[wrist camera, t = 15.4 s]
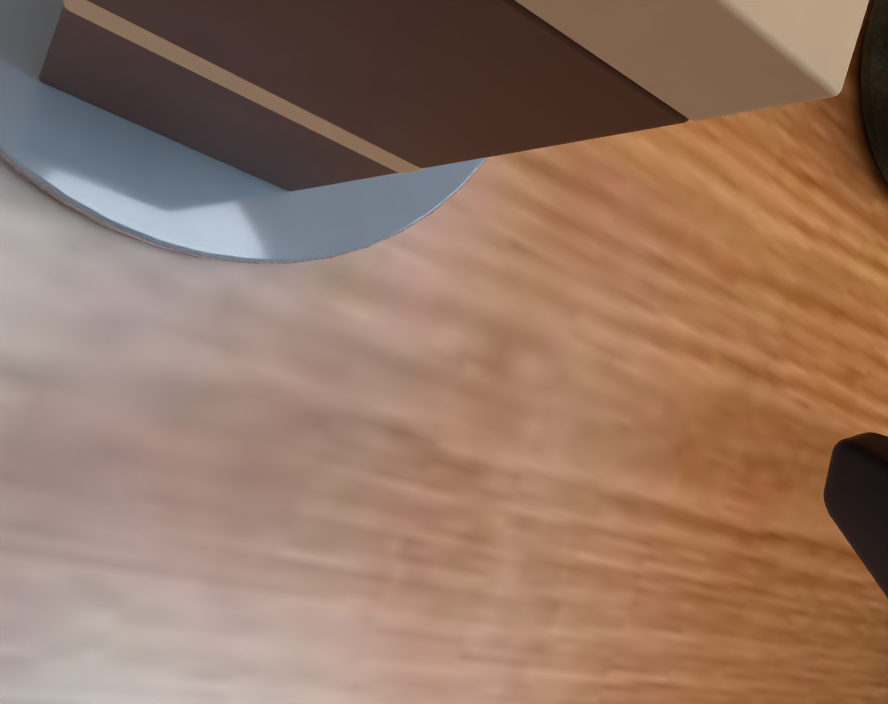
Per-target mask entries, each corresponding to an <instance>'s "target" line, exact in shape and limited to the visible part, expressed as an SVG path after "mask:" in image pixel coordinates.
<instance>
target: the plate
mask: <svg viewBox="0 0 888 704" xmlns="http://www.w3.org/2000/svg"><path fill="white" fill-rule="evenodd" d="M63 6H64V2H63V0H0V157H2V158H3V159H4V160H5V161H6V162H7V163H8V164H9V165H10V166H11V167H13V168H14V169H15V170H16V171H17V172H19V173H20V174H22V175H23V176H24V177H26V178H27V179H29V180H30V181H31V182H33V183H34V184H36V185H37V186H38V187H40V188H41V189H43V190H44V191H45V192H47V193H48V194H50V195H51V196H52V197H54V198H55V199H57V200H58V201H59V202H61V203H63V204H65V205H67V206H68V207H70V208H72V209H74V210H76V211H78V212H79V213H81V214H83V215H85V216H87V217H88V218H90V219H92V220H94V221H96V222H97V223H99V224H101V225H103V226H105V227H107V228H110V229H112V230H115V231H117V232H120V233H122V234H125V235H127V236H130V237H132V238H134V239H137V240H139V241H142V242H144V243H147V244H149V245H153V246H156V247H160V248H164V249H168V250H171V251H175V252H179V253H183V254H186V255H190V256H194V257H201V258H208V259H216V260H223V261H231V262H239V263H295V262H303V261H310V260H317V259H324V258H331V257H335V256H338V255H342V254H345V253H349V252H352V251H356V250H359V249H363V248H366V247H369V246H371V245H374V244H376V243H378V242H380V241H383V240H385V239H387V238H389V237H392V236H394V235H396V234H398V233H401V232H402V231H404V230H406V229H407V228H409V227H410V226H412V225H414V224H415V223H417V222H418V221H420V220H421V219H423V218H425V217H426V216H428V215H429V214H431V213H432V212H434V211H435V210H436V209H437V208H438V207H440V206H441V205H442V204H443V203H444V202H445V201H447V200H448V199H449V198H450V197H451V196H453V195H454V194H455V193H456V192H457V191H458V190H460V188H461V187H462V186H463V185H464V184H465V183H466V182H467V181H468V180H469V178H470V177H471V176H472V175H473V174H474V173H475V172H476V171H477V169H478V168H479V167H480V166H481V165H482V164H483V163H484V161H485V160H486V158H487V157H486V158H480V159H474V160H469V161H463V162H457V163H452V164H446V165H440V166H435V167H429V168H424V169H423V170H421V171H415V172H409V173H395V174H389V175H383V176H378V177H372V178H366V179H360V180H355V181H349V182H343V183H338V184H332V185H326V186H321V187H315V188H309V189H304V190H298V191H292V192H291V191H287V190H285V189H283V188H280V187H278V186H276V185H274V184H271V183H269V182H267V181H265V180H262V179H260V178H258V177H255V176H253V175H251V174H249V173H246V172H244V171H242V170H240V169H237V168H235V167H233V166H231V165H228V164H226V163H224V162H221V161H219V160H217V159H215V158H212V157H210V156H208V155H206V154H203V153H201V152H199V151H197V150H194V149H192V148H190V147H187V146H185V145H183V144H181V143H178V142H176V141H174V140H172V139H169V138H167V137H165V136H163V135H160V134H158V133H156V132H153V131H151V130H149V129H147V128H144V127H142V126H140V125H138V124H135V123H133V122H131V121H129V120H126V119H124V118H122V117H119V116H117V115H115V114H113V113H110V112H108V111H106V110H104V109H101V108H99V107H97V106H95V105H92V104H90V103H88V102H85V101H83V100H81V99H79V98H76V97H74V96H72V95H70V94H67V93H65V92H63V91H61V90H58V89H56V88H54V87H51V86H49V85H47V84H45V83H42V82H41V81H40V80H39V75H40V72H41V69H42V66H43V63H44V60H45V57H46V55H47V52H48V49H49V46H50V43H51V40H52V37H53V34H54V32H55V29H56V26H57V23H58V20H59V17H60V14H61V11H62V8H63Z"/></svg>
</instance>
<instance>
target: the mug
mask: <svg viewBox="0 0 888 704" xmlns="http://www.w3.org/2000/svg"><path fill="white" fill-rule="evenodd" d="M861 100H862V107H863V115H864V122H865V126H866V131H867V135H868V139H869V143H870V146H871V149H872V152H873V154H874V157H875V160H876V162H877V164H878V166H879V168H880V170H881V172H882V174H883V176H884V178H885V179H886V181H887V182H888V0H875V2H874V5H873V7H872V10H871V13H870V17H869V21H868V24H867V28H866V32H865V38H864V45H863V51H862V63H861Z"/></svg>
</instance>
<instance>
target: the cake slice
mask: <svg viewBox="0 0 888 704" xmlns="http://www.w3.org/2000/svg"><path fill="white" fill-rule="evenodd" d="M63 2H64V6H63V8H62V11H61V14H60V17H59V20H58V23H57V26H56V29H55V32H54V34H53V37H52V40H51V43H50V46H49V49H48V52H47V55H46V57H45V60H44V63H43V66H42V69H41V72H40V75H39V80H40V81H41V82H42V83H45V84H47V85H49V86H51V87H54V88H56V89H58V90H61V91H63V92H65V93H67V94H70V95H72V96H74V97H76V98H79V99H81V100H83V101H85V102H88V103H90V104H92V105H95V106H97V107H99V108H101V109H104V110H106V111H108V112H110V113H113V114H115V115H117V116H119V117H122V118H124V119H126V120H129V121H131V122H133V123H135V124H138V125H140V126H142V127H144V128H147V129H149V130H151V131H153V132H156V133H158V134H160V135H163V136H165V137H167V138H169V139H172V140H174V141H176V142H178V143H181V144H183V145H185V146H187V147H190V148H192V149H194V150H197V151H199V152H201V153H203V154H206V155H208V156H210V157H212V158H215V159H217V160H219V161H221V162H224V163H226V164H228V165H231V166H233V167H235V168H237V169H240V170H242V171H244V172H246V173H249V174H251V175H253V176H255V177H258V178H260V179H262V180H265V181H267V182H269V183H271V184H274V185H276V186H278V187H280V188H283V189H285V190H287V191H291V192H292V191H298V190H304V189H309V188H315V187H321V186H326V185H332V184H338V183H343V182H349V181H355V180H360V179H366V178H372V177H378V176H383V175H389V174H395V173H409V172H415V171H421V170H423V169H424V168H429V167H435V166H440V165H446V164H452V163H457V162H463V161H469V160H474V159H480V158H486V157H491V156H497V155H503V154H509V153H514V152H520V151H526V150H531V149H537V148H543V147H548V146H554V145H560V144H566V143H571V142H577V141H583V140H588V139H594V138H600V137H605V136H611V135H617V134H623V133H628V132H634V131H640V130H645V129H651V128H657V127H662V126H668V125H674V124H679V123H685V122H686V121H688V120H689V119H690V120H692V121H699V120H704V119H710V118H716V117H721V116H727V115H733V114H739V113H744V112H750V111H756V110H761V109H767V108H773V107H779V106H784V105H790V104H796V103H801V102H807V101H813V100H818V99H824V98H830V97H835V96H836V95H838V94H839V93H840V91H841V90H842V87H843V84H844V80H845V77H846V74H847V71H848V67H849V64H850V61H851V58H852V54H853V51H854V48H855V45H856V42H857V38H858V35H859V32H860V29H861V25H862V22H863V19H864V16H865V12H866V9H867V6H868V3H869V0H63Z"/></svg>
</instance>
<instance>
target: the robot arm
mask: <svg viewBox="0 0 888 704" xmlns="http://www.w3.org/2000/svg"><path fill="white" fill-rule="evenodd" d="M824 502H825V505H826V508H827V510H828V513H829V514H830V516H831V518H832V519H833V520H834V522H835V523H836V525H837V526H838V528H839V529H840V530H841V532H842V533H843V535H844V536H845V538H846V539H847V541H848V542H849V543H850V545H851V546H852V548H853V549H854V551H855V552H856V553H857V555H858V556H859V558H860V559H861V561H862V562H863V563H864V565H865V566H866V568H867V569H868V571H869V572H870V573H871V575H872V576H873V578H874V579H875V581H876V582H877V583H878V585H879V586H880V588H881V589H882V591H883V592H884V593H885V595H886V596H887V598H888V437H887V436H884V435H881V434H877V433H871V432H869V433H863V434H859V435H856V436H853V437H850V438H846V439H843V440H841V441H839V442H838V443H837V444H836V445H835V447H834V449H833V451H832V456H831V461H830V465H829V470H828V475H827V479H826V484H825V489H824Z"/></svg>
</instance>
